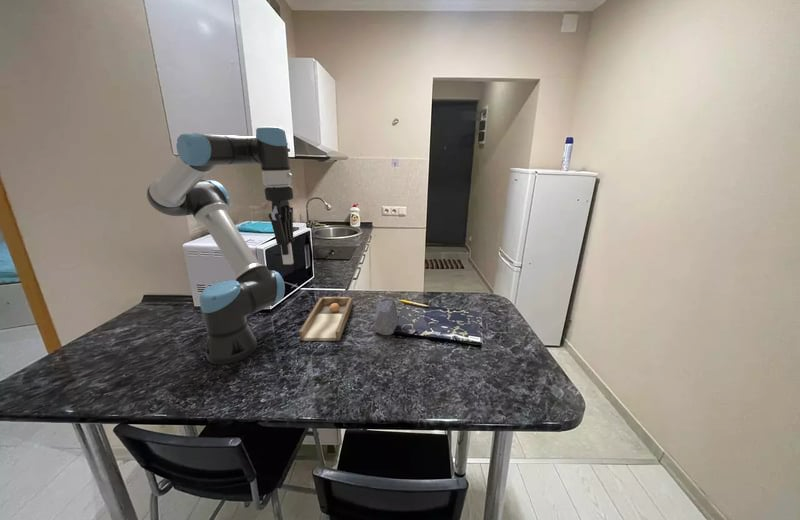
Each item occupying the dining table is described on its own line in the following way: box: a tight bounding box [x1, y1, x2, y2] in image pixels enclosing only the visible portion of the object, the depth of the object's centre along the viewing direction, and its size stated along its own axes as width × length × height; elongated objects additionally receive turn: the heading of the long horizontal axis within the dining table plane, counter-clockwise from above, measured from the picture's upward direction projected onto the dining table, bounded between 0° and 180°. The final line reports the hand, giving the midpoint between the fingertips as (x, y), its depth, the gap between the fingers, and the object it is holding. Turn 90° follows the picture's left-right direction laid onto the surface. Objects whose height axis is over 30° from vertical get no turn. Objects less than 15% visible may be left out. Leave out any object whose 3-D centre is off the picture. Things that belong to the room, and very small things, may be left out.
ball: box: [330, 303, 340, 312], centre depth 126 cm, size 4×4×4 cm
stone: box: [373, 298, 399, 336], centre depth 113 cm, size 12×10×10 cm
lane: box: [298, 296, 354, 342], centre depth 121 cm, size 14×28×4 cm, turn 179°
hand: (288, 263), depth 95 cm, fingers closed
